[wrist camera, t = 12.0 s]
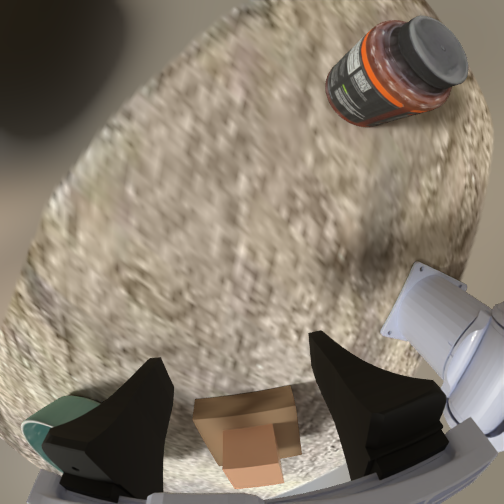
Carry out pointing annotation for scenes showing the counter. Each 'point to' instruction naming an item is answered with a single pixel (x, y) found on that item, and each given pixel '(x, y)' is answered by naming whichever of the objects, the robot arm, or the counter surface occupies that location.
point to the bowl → (54, 420)
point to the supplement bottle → (397, 72)
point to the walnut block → (249, 418)
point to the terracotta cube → (252, 457)
